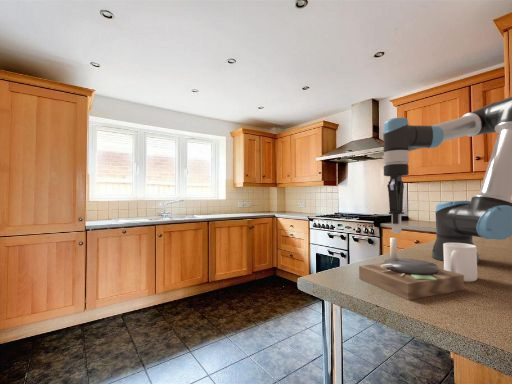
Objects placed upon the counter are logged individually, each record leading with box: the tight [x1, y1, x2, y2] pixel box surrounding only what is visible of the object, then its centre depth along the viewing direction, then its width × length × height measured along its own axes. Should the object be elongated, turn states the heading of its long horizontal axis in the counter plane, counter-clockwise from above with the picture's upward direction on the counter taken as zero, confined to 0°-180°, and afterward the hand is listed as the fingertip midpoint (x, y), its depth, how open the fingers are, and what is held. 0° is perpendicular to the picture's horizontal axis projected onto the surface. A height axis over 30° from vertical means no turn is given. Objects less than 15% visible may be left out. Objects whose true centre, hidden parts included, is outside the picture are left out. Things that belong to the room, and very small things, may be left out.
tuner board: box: [358, 262, 465, 301], centre depth 78 cm, size 20×18×4 cm
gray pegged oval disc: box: [381, 237, 439, 275], centre depth 79 cm, size 18×14×8 cm
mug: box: [443, 243, 478, 282], centre depth 82 cm, size 12×8×10 cm
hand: (396, 233), depth 90 cm, fingers closed
